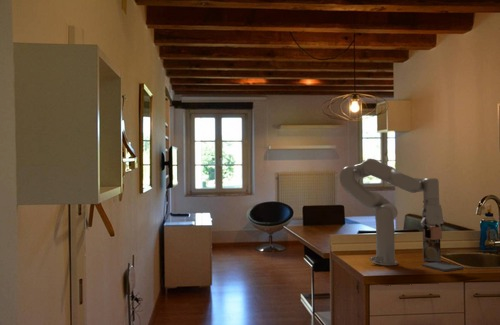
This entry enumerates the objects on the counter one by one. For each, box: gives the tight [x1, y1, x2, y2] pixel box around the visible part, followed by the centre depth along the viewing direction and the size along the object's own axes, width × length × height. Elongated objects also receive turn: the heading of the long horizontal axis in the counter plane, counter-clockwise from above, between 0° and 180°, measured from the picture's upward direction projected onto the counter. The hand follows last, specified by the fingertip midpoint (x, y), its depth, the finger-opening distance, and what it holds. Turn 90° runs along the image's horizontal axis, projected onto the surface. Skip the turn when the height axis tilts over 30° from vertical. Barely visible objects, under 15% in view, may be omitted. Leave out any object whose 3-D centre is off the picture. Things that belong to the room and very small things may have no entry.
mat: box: [421, 261, 464, 272], centre depth 227 cm, size 14×14×1 cm
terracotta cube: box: [423, 225, 443, 240], centre depth 225 cm, size 6×6×6 cm
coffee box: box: [422, 230, 442, 263], centre depth 244 cm, size 9×6×16 cm
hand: (432, 236), depth 225 cm, fingers closed on terracotta cube, 6 cm apart
